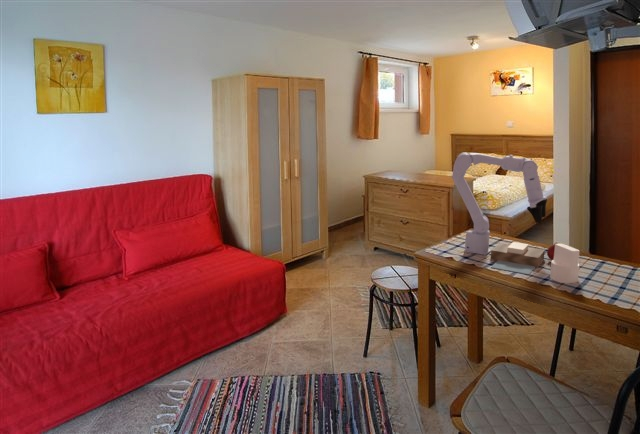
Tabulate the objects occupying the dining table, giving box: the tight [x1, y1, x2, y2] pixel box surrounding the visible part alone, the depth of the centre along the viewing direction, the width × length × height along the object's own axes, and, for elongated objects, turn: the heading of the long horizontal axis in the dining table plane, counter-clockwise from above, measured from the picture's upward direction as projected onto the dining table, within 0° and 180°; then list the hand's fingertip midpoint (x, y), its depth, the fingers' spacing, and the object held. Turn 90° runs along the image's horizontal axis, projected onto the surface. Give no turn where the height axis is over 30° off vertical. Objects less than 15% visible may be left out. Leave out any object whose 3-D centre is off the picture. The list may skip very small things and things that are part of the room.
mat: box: [490, 260, 536, 276], centre depth 174 cm, size 14×10×1 cm
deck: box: [490, 242, 546, 269], centre depth 183 cm, size 18×12×4 cm, turn 54°
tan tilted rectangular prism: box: [507, 241, 529, 255], centre depth 181 cm, size 6×9×2 cm, turn 144°
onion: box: [546, 242, 559, 261], centre depth 178 cm, size 6×6×8 cm
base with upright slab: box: [549, 243, 581, 284], centre depth 160 cm, size 9×9×12 cm
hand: (540, 219), depth 183 cm, fingers open, 7 cm apart
